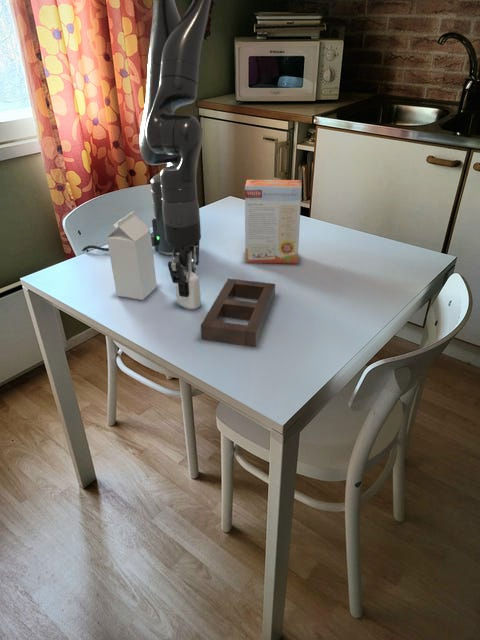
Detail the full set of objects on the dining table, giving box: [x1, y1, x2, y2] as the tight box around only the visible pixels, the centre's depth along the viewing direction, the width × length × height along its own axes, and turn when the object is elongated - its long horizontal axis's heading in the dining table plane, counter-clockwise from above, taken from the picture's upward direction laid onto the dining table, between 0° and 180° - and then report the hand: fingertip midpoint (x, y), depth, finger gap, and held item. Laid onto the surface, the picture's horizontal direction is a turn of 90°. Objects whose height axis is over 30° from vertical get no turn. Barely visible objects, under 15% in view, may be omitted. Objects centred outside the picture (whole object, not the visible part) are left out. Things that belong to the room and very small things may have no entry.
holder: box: [200, 278, 276, 348], centre depth 105 cm, size 11×21×4 cm, turn 166°
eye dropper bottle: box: [175, 266, 202, 310], centre depth 107 cm, size 4×6×12 cm
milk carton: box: [106, 210, 158, 301], centre depth 111 cm, size 7×7×19 cm
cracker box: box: [244, 179, 303, 265], centre depth 124 cm, size 14×6×21 cm, turn 84°
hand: (187, 290), depth 108 cm, fingers closed on eye dropper bottle, 4 cm apart
